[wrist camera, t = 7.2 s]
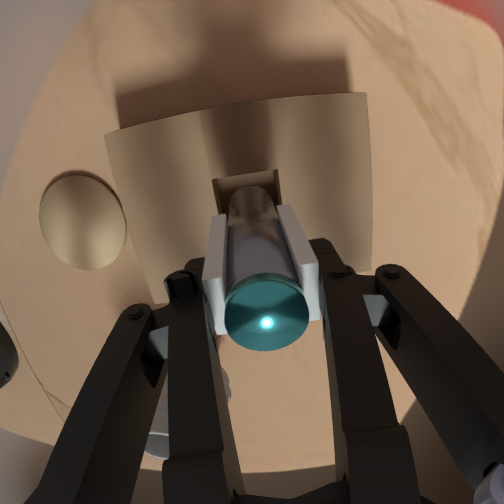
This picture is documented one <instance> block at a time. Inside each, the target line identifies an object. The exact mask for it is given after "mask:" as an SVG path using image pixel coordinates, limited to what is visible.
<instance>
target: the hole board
mask: <svg viewBox="0 0 504 504" xmlns="http://www.w3.org/2000/svg"><path fill="white" fill-rule="evenodd" d="M104 139H105V143H106V148H107V152H108V156H109V160H110V164H111V168H112V172H113V176H114V180H115V183H116V187H117V191H118V194H119V198H120V201H121V205H122V208H123V212H124V215H125V218H126V222H127V225H128V228H129V231H130V235H131V238H132V241H133V244H134V247H135V250H136V253H137V256H138V259H139V262H140V265H141V268H142V271H143V274H144V276H145V279H146V282H147V285H148V288H149V290H150V293H151V296H152V298H153V301H154V304H160V303H168V302H169V297H168V294H167V291H166V289H165V286H164V283H163V282H164V279H165V278H166V277H167V276H168V275H169V274H171V273H173V272H175V271H178V270H183V269H184V267H185V264H186V263H187V262H188V261H189V260H190V259H194V258H201V257H205V256H206V250H207V244H208V238H209V232H210V226H211V220H212V216H215V215H221V214H223V211H222V206H221V201H220V196H219V190H218V185H217V180H216V179H217V178H223V177H228V176H234V175H241V174H247V173H253V172H260V171H266V170H273V171H274V178H275V186H276V193H277V201H278V205H285V204H291V206H292V208H293V210H294V212H295V214H296V216H297V219H298V221H299V223H300V225H301V227H302V229H303V231H304V233H305V235H306V237H307V239H308V240H311V239H317V238H325V239H327V240H329V241H330V242H331V243H332V245H333V246H334V248H335V250H336V252H337V253H338V255H339V256H340V258H341V260H342V261H343V263H344V264H345V265H348V266H350V267H352V268H353V269H354V271H355V273H360V272H365V271H370V270H371V258H372V168H371V147H370V131H369V118H368V107H367V97H366V92H348V93H327V94H313V95H301V96H290V97H281V98H272V99H264V100H256V101H249V102H242V103H236V104H230V105H224V106H218V107H213V108H207V109H202V110H197V111H192V112H187V113H183V114H178V115H174V116H169V117H165V118H161V119H157V120H153V121H149V122H145V123H141V124H137V125H134V126H130V127H126V128H123V129H120V130H116V131H113V132H110V133H107V134H104ZM277 215H278V213H277ZM227 222H228V221H227Z"/></svg>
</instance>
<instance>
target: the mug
mask: <svg viewBox="0 0 504 504" xmlns="http://www.w3.org/2000/svg"><path fill="white" fill-rule="evenodd" d="M221 371H222V377H223V382H224V388H225V393H226V399H227V404H228V401H229V400H230V399H231V390H230V387H229V378H228V375H227V373H226V372H225V370H224V369H223V368H222V367H221ZM144 452H145V453H146V454H148V455H150V456H152V457H154V456H155V457H156V458H160V459H168V458H169V433H168V372H167V375H166V379H165V382H164V385H163V388H162V392H161V395H160V398H159V402H158V405H157V408H156V412H155V415H154V419H153V422H152V426H151V429H150V433H149V436H148V440H147V443H146V447H145V450H144Z"/></svg>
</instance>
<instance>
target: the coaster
mask: <svg viewBox="0 0 504 504" xmlns="http://www.w3.org/2000/svg"><path fill="white" fill-rule="evenodd" d="M39 221H40V227H41V231H42V234H43V237H44V239H45V241H46V243H47V245H48V246H49V248H50V249H51V250H52V251H53V253H54V254H55V255H56V256H57V257H58V258H59V259H61V260H62V261H63V262H65V263H67V264H68V265H70V266H73V267H75V268H78V269H83V270H96V269H100V268H103V267H105V266H107V265H109V264H110V263H111V262H113V261H114V260H115V259H116V257H117V256H118V255H119V253H120V252H121V250H122V248H123V246H124V243H125V239H126V231H127V226H126V219H125V215H124V212H123V209H122V207H121V205H120V203H119V201H118V199H117V198H116V196H115V195H114V194H113V192H112V191H111V190H110V189H109V188H108V187H107V186H105V185H104V184H103V183H101V182H100V181H98V180H96V179H94V178H91V177H88V176H84V175H71V176H67V177H64V178H62V179H60V180H58V181H57V182H55V183H54V184H53V185H51V186H50V188H49V189H48V190H47V191H46V193H45V195H44V197H43V199H42V201H41V205H40V211H39Z"/></svg>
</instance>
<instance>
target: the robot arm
mask: <svg viewBox="0 0 504 504" xmlns="http://www.w3.org/2000/svg"><path fill="white" fill-rule="evenodd" d="M277 213H278V220H279V223H280V226H281V229H282V232H283V235H284V238H285V241H286V244H287V246H288V249H289V253H290V256H291V259H292V262H293V265H294V268H295V271H296V274H297V277H298V280H299V283H300V285H301V287H302V290H303V293H304V296H305V299H306V302H307V305H308V308H309V314H310V315H309V321H314V320H319V319H321V315H320V310H321V313H322V316H323V339H324V340H325V349H326V358H327V367H328V377H329V387H330V398H331V409H332V421H333V435H334V449H335V466H336V481H335V482H333V483H330V484H327V485H325V486H323V487H321V488H319V489H316V490H314V491H311V492H309V493H306V494H304V495H301V496H299V497H296V498H293V499H282V498H272V497H263V496H255V495H247V493H246V490H245V487H244V484H243V479H242V474H241V470H240V465H239V460H238V455H237V450H236V446H235V441H234V436H233V431H232V425H231V420H230V415H229V410H228V404H227V399H226V393H225V388H224V382H223V377H222V371H221V365H220V359H219V353H218V347H217V341H216V338H215V335H214V328H215V330H216V333H217V335H222V334H228V333H227V331H226V328H225V324H224V313H225V296H226V275H227V248H228V222H227V217H226V214H221V215H215V216H212V220H211V226H210V232H209V238H208V244H207V250H206V256H205V257H201V258H194V259H190V260H189V261H188V262H187V263H186V264H185V267H184V269H183V270H178V271H175V272H173V273H171V274H169V275H168V276H167V277H166V278H165V279H164V282H163V283H164V286H165V289H166V291H167V294H168V297H169V304H168V305H167V306H165V307H162V308H159V309H156V310H153V311H152V310H151V308H150V306H149V305H147V304H142V303H140V304H134V305H132V306H129V307H128V308H127V309H125V310H124V311H123V312H122V313H121V315H120V317H119V318H118V320H117V322H116V324H115V326H114V327H113V329H112V331H111V333H110V335H109V336H108V338H107V340H106V342H105V344H104V346H103V348H102V349H101V351H100V353H99V355H98V357H97V359H96V361H95V363H94V365H93V367H92V369H91V371H90V373H89V374H88V376H87V378H86V380H85V382H84V384H83V386H82V388H81V390H80V393H79V395H78V397H77V399H76V401H75V403H74V405H73V407H72V409H71V411H70V413H69V416H68V418H67V420H66V422H65V424H64V426H63V429H62V431H61V433H60V435H59V438H58V440H57V442H56V444H55V447H54V449H53V451H52V454H51V456H50V459H49V461H48V463H47V466H46V468H45V471H44V474H43V476H42V478H41V481H40V483H39V485H38V487H37V488H36V489H35V490H34V492H33V493H32V494H31V495H30V497H29V498H28V499H27V500H26V501H25V503H24V504H130V503H131V499H132V495H133V491H134V487H135V483H136V480H137V476H138V472H139V469H140V465H141V461H142V458H143V454H144V450H145V447H146V443H147V440H148V436H149V433H150V429H151V426H152V422H153V419H154V415H155V412H156V408H157V405H158V402H159V398H160V395H161V392H162V388H163V385H164V382H165V379H166V375H167V372H168V433H169V458H168V459H166V460H164V462H163V465H162V480H163V496H164V504H436V503H434V502H432V501H430V500H428V499H427V498H425V497H423V496H421V495H420V493H419V487H418V481H417V476H416V470H415V465H414V460H413V455H412V450H411V446H410V441H409V436H408V433H407V430H406V428H405V426H404V425H399V423H398V421H397V417H396V413H395V408H394V404H393V400H392V396H391V392H390V388H389V384H388V380H387V376H386V372H385V368H384V365H383V361H382V357H381V354H380V350H379V347H378V343H377V340H376V336H377V337H378V339H379V340H380V342H381V343H382V345H383V347H384V348H385V350H386V351H387V353H388V354H389V356H390V357H391V359H392V360H393V362H394V363H395V365H396V366H397V368H398V370H399V371H400V373H401V374H402V376H403V377H404V379H405V380H406V382H407V384H408V385H409V387H410V388H411V390H412V392H413V393H414V395H415V396H416V398H417V400H418V401H419V403H420V404H421V406H422V408H423V409H424V411H425V413H426V414H427V416H428V417H429V419H430V421H431V423H432V424H433V426H434V428H435V429H436V431H437V433H438V434H439V436H440V438H441V439H442V441H443V443H444V445H445V446H446V448H447V450H448V452H449V453H450V455H451V457H452V459H453V460H454V462H455V464H456V466H457V467H458V469H459V470H460V472H461V474H462V475H463V477H464V478H465V479H466V480H467V482H468V483H469V484H470V485H471V486H472V487H473V488H474V489H475V490H476V492H475V497H474V504H504V373H503V372H502V371H501V370H500V368H499V367H498V366H497V365H496V364H495V362H494V361H493V360H492V359H491V358H490V357H489V356H488V354H487V353H486V352H485V351H484V350H483V349H482V348H481V346H480V345H479V344H478V343H477V342H476V341H475V340H474V339H473V337H472V336H471V335H470V334H469V333H468V332H467V331H466V330H465V329H464V328H463V327H462V326H461V324H460V323H459V322H458V321H457V320H456V319H455V318H454V317H453V316H452V315H451V314H450V313H449V312H448V311H447V310H446V309H445V308H444V307H443V305H442V304H441V303H440V302H439V301H438V300H437V299H436V298H435V297H434V296H433V295H432V294H431V293H430V292H429V291H428V290H427V289H426V288H425V287H424V286H423V285H422V284H421V283H420V282H419V281H418V280H417V279H416V278H414V277H413V276H412V275H411V274H410V273H409V272H408V271H407V270H406V269H405V268H403V267H402V266H399V265H396V264H386V265H382V266H380V267H378V268H377V269H376V272H375V276H371V275H358V274H356V273H355V271H354V269H353V268H352V267H350V266H348V265H345V264H344V263H343V261H342V260H341V258H340V256H339V255H338V253H337V252H336V250H335V248H334V246H333V245H332V243H331V242H330V241H329V240H327V239H325V238H317V239H311V240H308V239H307V237H306V235H305V233H304V231H303V229H302V227H301V225H300V223H299V221H298V219H297V216H296V214H295V212H294V210H293V208H292V206H291V204H285V205H278V206H277ZM375 334H376V336H375ZM17 368H18V356H17V352H16V350H15V347H14V345H13V343H12V341H11V340H10V338H9V336H8V335H7V333H6V332H5V330H4V329H3V327H2V326H1V325H0V389H1V388H2V387H3V386H4V385H6V384H7V383H8V382H9V381H10V380H11V379H12V377H13V375H14V374H15V372H16V370H17Z"/></svg>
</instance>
